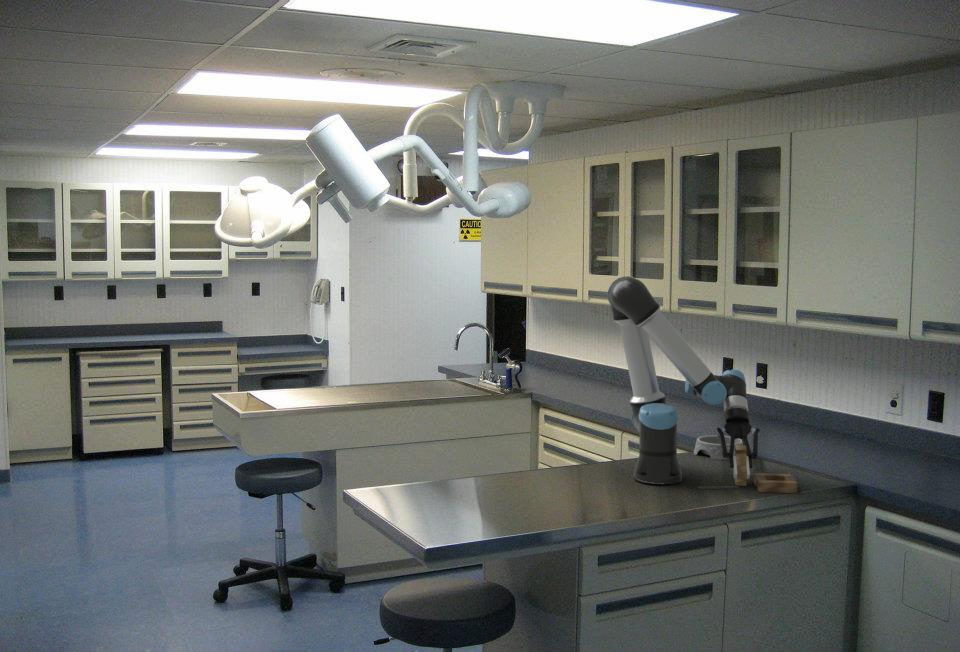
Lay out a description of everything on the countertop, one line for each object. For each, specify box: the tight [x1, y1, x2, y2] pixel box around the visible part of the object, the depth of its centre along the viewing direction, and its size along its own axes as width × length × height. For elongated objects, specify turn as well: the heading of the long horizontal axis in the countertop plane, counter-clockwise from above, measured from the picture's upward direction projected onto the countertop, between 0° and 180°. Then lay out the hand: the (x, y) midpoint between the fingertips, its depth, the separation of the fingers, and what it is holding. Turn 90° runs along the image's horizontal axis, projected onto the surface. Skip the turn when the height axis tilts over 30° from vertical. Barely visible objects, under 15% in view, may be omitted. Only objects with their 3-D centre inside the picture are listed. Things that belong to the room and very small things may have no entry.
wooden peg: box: [734, 445, 747, 487], centre depth 282 cm, size 3×3×12 cm
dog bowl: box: [693, 434, 743, 461], centre depth 324 cm, size 17×18×5 cm
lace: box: [698, 485, 740, 490], centre depth 278 cm, size 12×1×1 cm, turn 90°
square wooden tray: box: [753, 472, 798, 494], centre depth 278 cm, size 11×11×3 cm
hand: (742, 476), depth 279 cm, fingers closed on wooden peg, 3 cm apart
